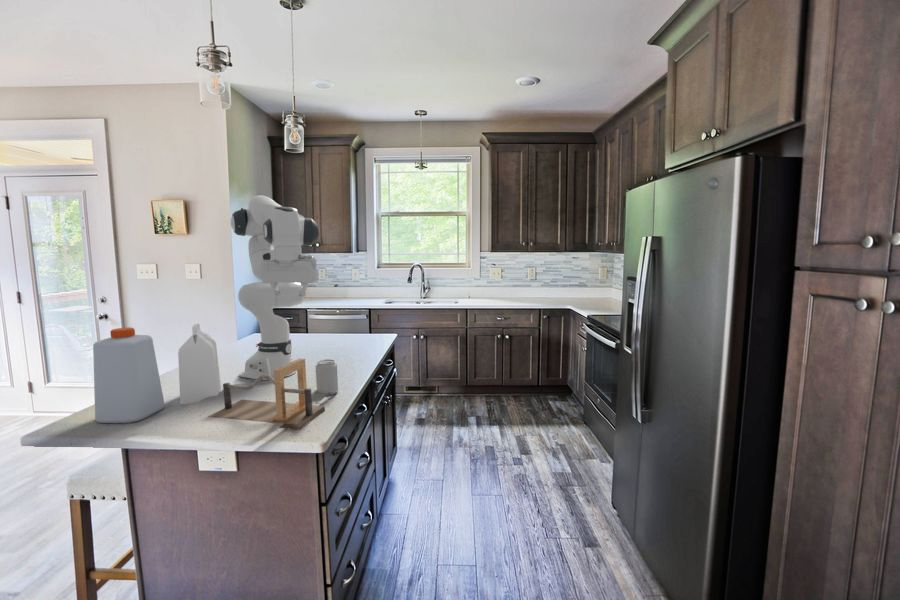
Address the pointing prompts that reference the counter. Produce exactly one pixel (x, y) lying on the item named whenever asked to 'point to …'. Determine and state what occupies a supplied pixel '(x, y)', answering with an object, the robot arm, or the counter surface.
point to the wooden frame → (279, 374)
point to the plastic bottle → (126, 378)
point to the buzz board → (266, 407)
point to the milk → (198, 368)
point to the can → (327, 376)
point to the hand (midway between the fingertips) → (290, 295)
